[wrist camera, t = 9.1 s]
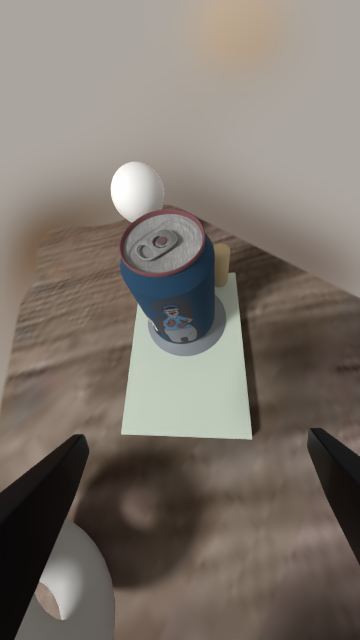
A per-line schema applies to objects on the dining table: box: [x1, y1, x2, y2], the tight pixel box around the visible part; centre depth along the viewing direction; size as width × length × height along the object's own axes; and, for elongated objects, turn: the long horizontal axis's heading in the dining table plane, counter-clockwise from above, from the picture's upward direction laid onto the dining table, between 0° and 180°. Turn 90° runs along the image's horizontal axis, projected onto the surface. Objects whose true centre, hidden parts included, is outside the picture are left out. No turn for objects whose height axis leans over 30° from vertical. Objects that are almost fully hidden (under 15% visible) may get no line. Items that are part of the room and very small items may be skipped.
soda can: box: [119, 209, 215, 344], centre depth 19 cm, size 7×7×12 cm
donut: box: [15, 519, 115, 640], centre depth 14 cm, size 10×3×10 cm, turn 52°
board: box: [121, 244, 252, 439], centre depth 22 cm, size 18×12×6 cm, turn 179°
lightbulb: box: [111, 162, 165, 222], centre depth 27 cm, size 6×6×11 cm
